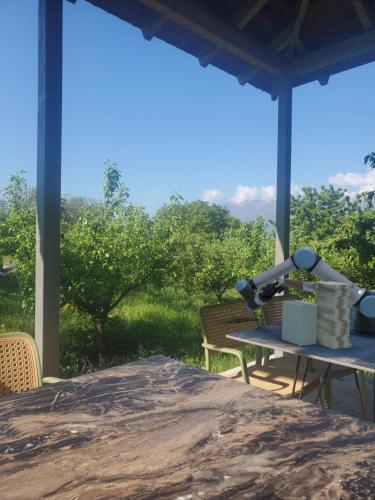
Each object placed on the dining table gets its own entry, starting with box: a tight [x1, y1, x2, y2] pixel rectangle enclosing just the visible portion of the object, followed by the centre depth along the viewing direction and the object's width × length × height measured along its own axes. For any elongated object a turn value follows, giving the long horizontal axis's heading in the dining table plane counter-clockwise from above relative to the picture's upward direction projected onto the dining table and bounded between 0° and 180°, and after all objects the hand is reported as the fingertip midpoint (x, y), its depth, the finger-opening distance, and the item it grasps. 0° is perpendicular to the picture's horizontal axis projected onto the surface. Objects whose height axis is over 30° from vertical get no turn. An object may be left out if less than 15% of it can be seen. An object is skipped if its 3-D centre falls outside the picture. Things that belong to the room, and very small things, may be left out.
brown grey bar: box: [275, 277, 318, 293], centre depth 199 cm, size 4×28×4 cm, turn 24°
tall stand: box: [313, 281, 355, 350], centre depth 192 cm, size 12×14×30 cm
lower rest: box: [281, 299, 317, 347], centre depth 197 cm, size 10×14×20 cm
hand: (286, 279), depth 206 cm, fingers closed on brown grey bar, 4 cm apart
